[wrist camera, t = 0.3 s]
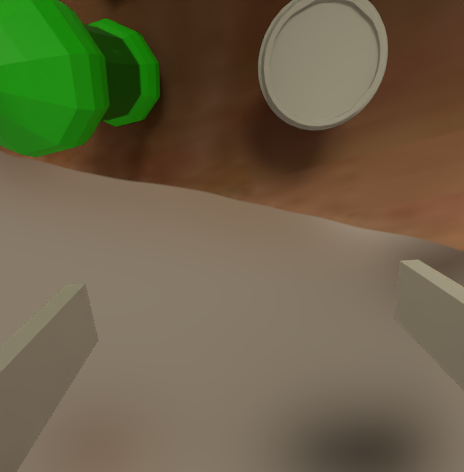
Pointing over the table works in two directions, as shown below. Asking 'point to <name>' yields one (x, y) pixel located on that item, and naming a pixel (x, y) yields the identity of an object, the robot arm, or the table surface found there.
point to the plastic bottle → (68, 76)
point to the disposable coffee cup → (322, 61)
